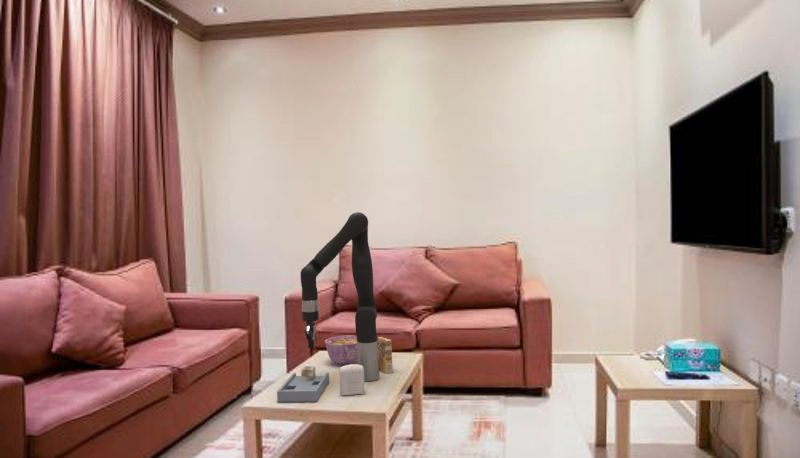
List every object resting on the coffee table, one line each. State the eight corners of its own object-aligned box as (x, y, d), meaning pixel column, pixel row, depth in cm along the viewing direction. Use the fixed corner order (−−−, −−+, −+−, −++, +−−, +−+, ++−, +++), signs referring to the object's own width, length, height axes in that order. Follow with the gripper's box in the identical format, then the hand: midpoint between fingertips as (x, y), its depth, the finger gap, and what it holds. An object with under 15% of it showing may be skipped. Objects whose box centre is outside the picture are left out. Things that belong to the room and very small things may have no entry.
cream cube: (315, 377, 259) (315, 366, 259) (313, 380, 254) (312, 369, 254) (304, 377, 259) (303, 366, 259) (301, 381, 254) (301, 369, 254)
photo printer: (363, 391, 247) (362, 362, 247) (365, 394, 243) (364, 364, 243) (339, 393, 245) (338, 364, 244) (340, 396, 241) (339, 367, 240)
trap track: (329, 382, 261) (328, 372, 261) (316, 402, 235) (316, 391, 235) (293, 382, 262) (293, 372, 262) (277, 402, 236) (277, 391, 236)
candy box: (393, 372, 274) (392, 339, 273) (385, 373, 271) (384, 341, 271) (383, 368, 281) (382, 336, 280) (375, 369, 279) (374, 337, 278)
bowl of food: (356, 369, 280) (355, 345, 280) (318, 367, 286) (317, 343, 286) (371, 358, 299) (370, 336, 299) (335, 356, 305) (334, 334, 305)
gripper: (315, 312, 256) (316, 351, 257) (321, 307, 269) (322, 344, 270) (298, 312, 256) (299, 351, 257) (305, 307, 270) (306, 344, 270)
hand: (311, 347), depth 263 cm, fingers closed
